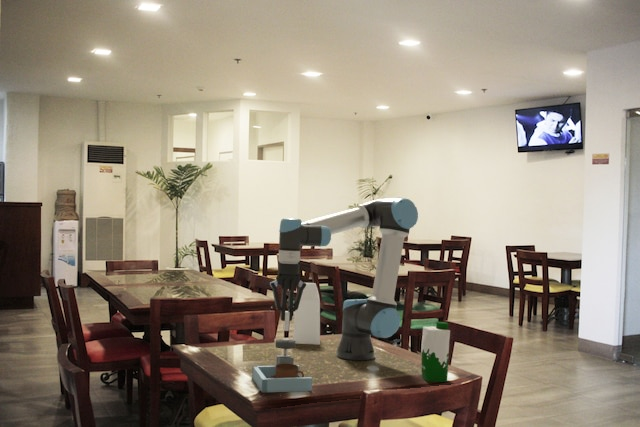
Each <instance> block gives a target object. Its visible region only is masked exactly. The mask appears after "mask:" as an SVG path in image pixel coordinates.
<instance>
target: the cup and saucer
mask: <svg viewBox="0 0 640 427" xmlns="http://www.w3.org/2000/svg"><path fill="white" fill-rule="evenodd" d="M297 365H298V364H294V363H293V364H278V365H276V364H275V366H276V375H274V376H271V377H269V378H294V377H305V374H304V372H303V371H302V370H300V371H298V366H297ZM298 373H299V374H301V376H300V375H299V376H298Z"/></svg>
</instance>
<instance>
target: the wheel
mask: <svg viewBox="0 0 640 427" xmlns="http://www.w3.org/2000/svg"><path fill="white" fill-rule="evenodd" d="M296 344H297V343H296V341H295V340H293V339H289V338H280V339H276V340H275V348H277V349H283V355H284V356H286V355H287V350H292V349H293V350H294V349H295V348H296Z"/></svg>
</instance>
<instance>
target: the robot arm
mask: <svg viewBox="0 0 640 427" xmlns="http://www.w3.org/2000/svg"><path fill="white" fill-rule="evenodd" d="M418 220H419V213H418V208H417V207H416V204H415V203H414V202H413V201H412V200H410V199H409V198H403V197H386V198H385V197H381V198H377V199H373V200H370V201H367V202H364V203H360V204H357V205H356V206H355V207H354V208H352V209H348V210H344V211H340V212H336V213H333V214H329V215H324V216H321V217H317V218H314V219H309V220H306V221H302V219H298V218H282V219H281V220H280V225H279V230H278V231H279V237H278V238H279V240H278V262H279V263H278V264H277V276H276V278H275V280H273V281H270V282H269V285H270V287H271V289H272V293H273V294H272V295H273V300H274V305H275V308H276V310H278V311H280V321H282V331H284V332H289V331H290V322H292V320H293V312H295V310H297V309H298V307H299V303H300V299H301V296H302V292H303V289H304V288H305V287H306V283H307V282H303V281H302V280H301V277H300V268H301V267H300V266H301V265H300V264H299V262H301V261H300V260H301V247H320V248H321V247H327V246H328V245H329V244H330V242H331V241H332V235H335V234H338V233H342V232H345V231H349V230H353V229H355V228H356V229H357V228H361V229H365V228H370V227H374V228H375V227H378V228H379V232H380V233H381V242H380V246H379V253H378V258H377V264H376V270H375V276H374V281H373V285H372V293H371V295H370V296H369V297H368V298H364V299H363V298H360V299H359V298H355V299H346V300H344V301H343V305H342V326H341V339H340V341H339V344H338V346H337V349H336V357H338V358H340V359H343V360H344V359H345V360H350V361H370V360H373V359H374V358H375V349H374V345H373V341H372V337H371V336H374V337H376V338H382V339H387V338H390V337H392V336H393V335H394V334H396V333H397V331H398V330H399V328H400V325H401V315H400V313H399V311H398V310H397V305H398V304H397V302H396V301H395V295H396V294H395V293H396V288H397V281H398V276H399V270H400V265H401V258H402V252H403V248H404V242H405V238H406V237H408V236H409V234H410V229H412V228H414V226H416V224H417V222H418ZM278 285H279V287H280V288H281V294H280V296H281V297H279V292H278V288H277V287H278ZM297 286H298V288H297V292H296V294H294V293H295V289H296V287H297ZM287 292H288V297H287ZM294 295H296V296H295V298H294ZM287 298H288V299H287ZM287 301H288V302H287ZM286 308H287V309H286Z"/></svg>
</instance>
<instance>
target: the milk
mask: <svg viewBox="0 0 640 427" xmlns="http://www.w3.org/2000/svg"><path fill="white" fill-rule="evenodd" d="M305 283H306V287H305V288H304V289H303V292H302V296H301V299H300V303H299V307H298V309H297V310H294V320H293V321H294V322H293V333H292V340H295V341H296V344H299V345H300V344H303V345H321V301H320V299H321V298H320V293H319V289H318V286H317V284H316V282H315V283H314V282H305Z"/></svg>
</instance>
